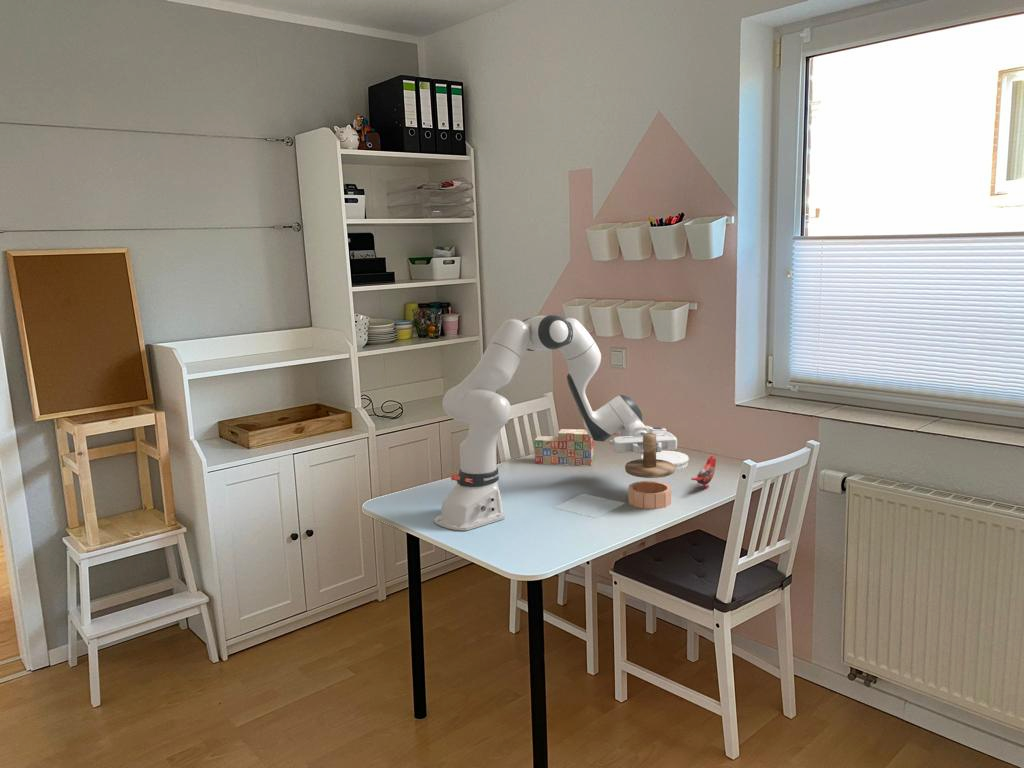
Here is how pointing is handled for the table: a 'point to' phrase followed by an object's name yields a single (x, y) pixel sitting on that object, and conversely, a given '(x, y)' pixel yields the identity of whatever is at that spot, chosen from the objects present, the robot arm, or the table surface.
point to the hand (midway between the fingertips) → (650, 450)
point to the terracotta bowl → (649, 494)
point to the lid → (673, 458)
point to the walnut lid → (649, 461)
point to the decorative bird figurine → (706, 472)
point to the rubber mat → (589, 505)
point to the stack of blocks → (565, 448)
